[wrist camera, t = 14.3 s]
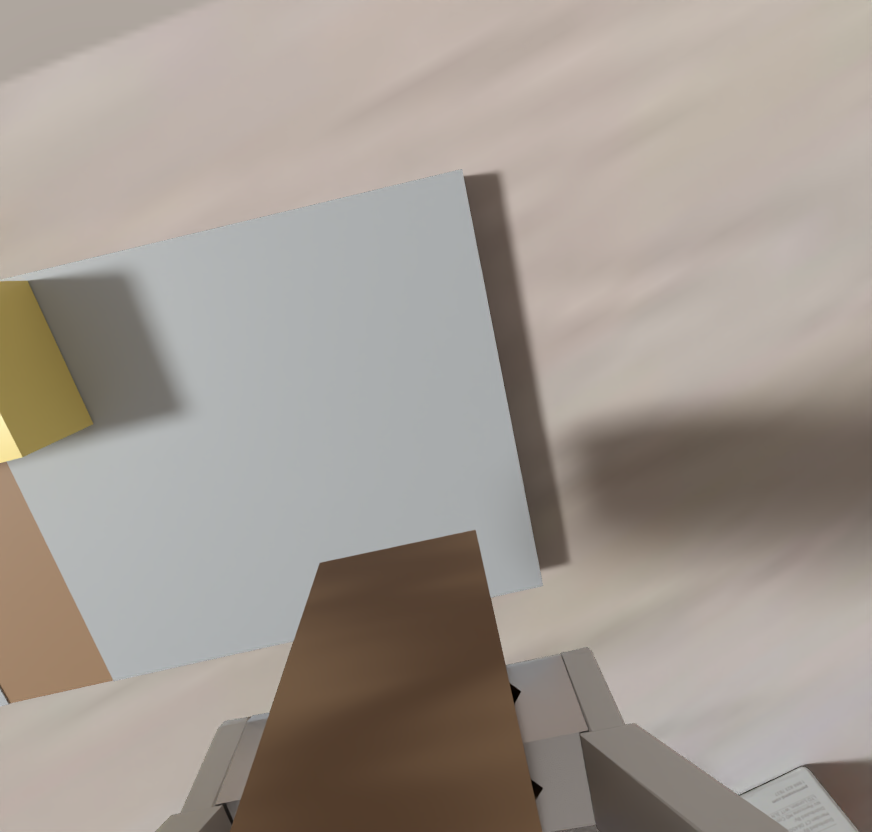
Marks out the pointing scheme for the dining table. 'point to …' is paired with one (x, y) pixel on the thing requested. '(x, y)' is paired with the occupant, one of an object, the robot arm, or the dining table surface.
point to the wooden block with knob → (394, 704)
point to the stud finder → (33, 379)
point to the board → (255, 434)
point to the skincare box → (800, 804)
